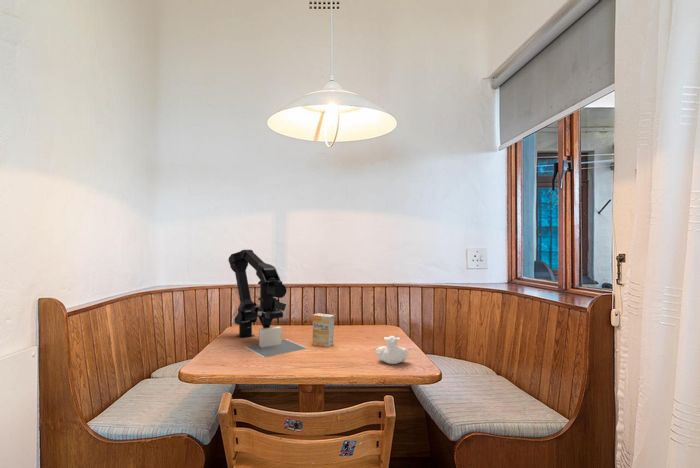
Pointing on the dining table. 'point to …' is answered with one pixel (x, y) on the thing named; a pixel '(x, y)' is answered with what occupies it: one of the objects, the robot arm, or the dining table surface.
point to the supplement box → (323, 330)
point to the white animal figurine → (392, 351)
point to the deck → (270, 336)
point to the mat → (276, 348)
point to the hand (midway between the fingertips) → (266, 331)
